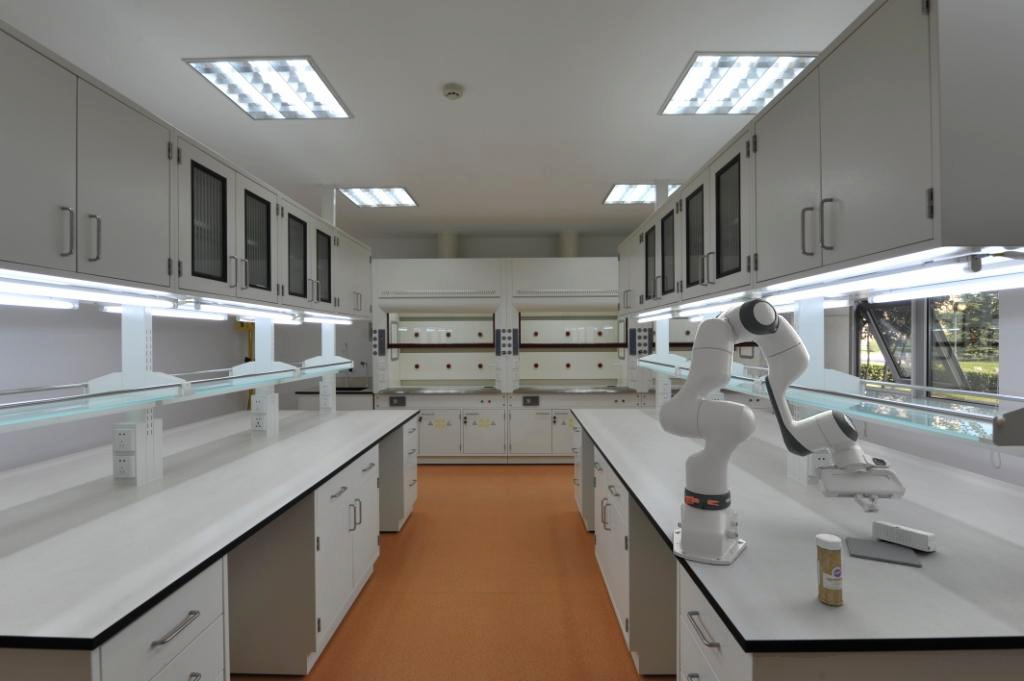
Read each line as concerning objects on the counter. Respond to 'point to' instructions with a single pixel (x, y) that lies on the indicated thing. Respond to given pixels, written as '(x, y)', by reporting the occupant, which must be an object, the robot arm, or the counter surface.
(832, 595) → the sprinkles bottle
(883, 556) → the mat
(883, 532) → the skincare box
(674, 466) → the counter surface
